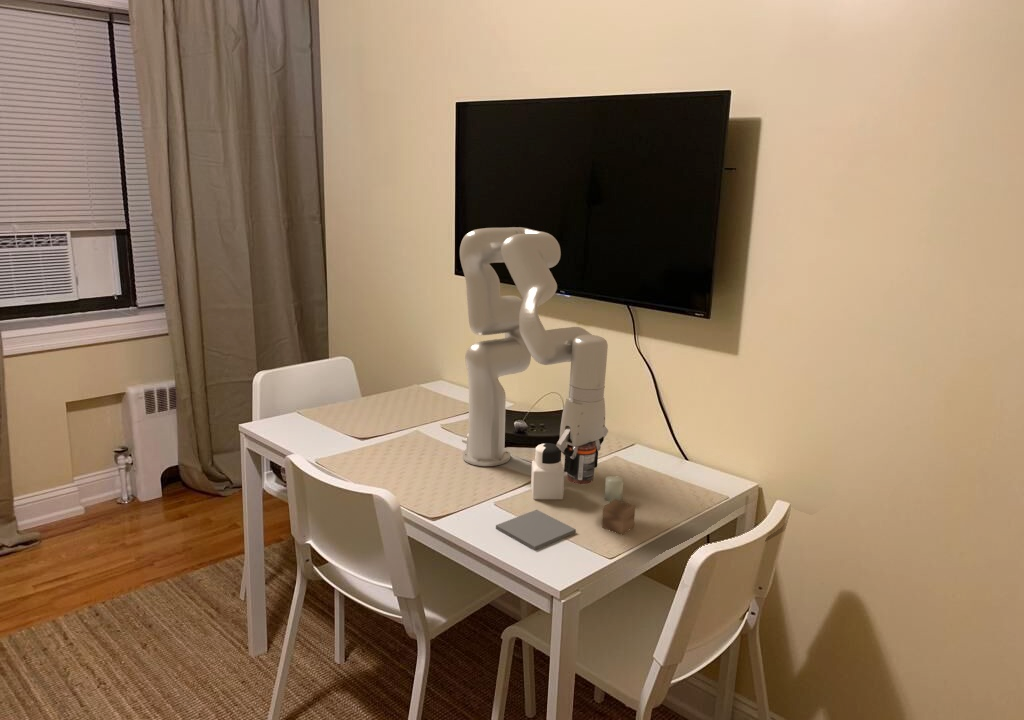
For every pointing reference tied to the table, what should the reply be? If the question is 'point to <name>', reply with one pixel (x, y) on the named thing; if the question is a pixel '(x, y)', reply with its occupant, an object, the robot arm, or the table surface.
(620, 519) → the walnut block
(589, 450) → the supplement bottle
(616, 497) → the sage cylinder
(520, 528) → the slate mat
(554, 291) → the robot arm
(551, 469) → the medicine bottle
